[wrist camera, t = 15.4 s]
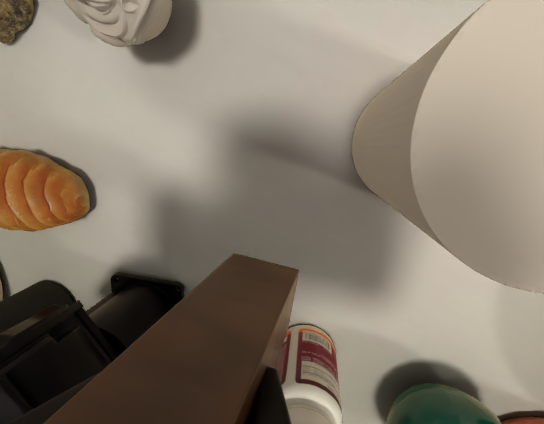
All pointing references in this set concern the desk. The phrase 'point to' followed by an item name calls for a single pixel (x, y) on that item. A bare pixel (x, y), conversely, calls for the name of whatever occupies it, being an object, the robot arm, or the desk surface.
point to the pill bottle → (309, 376)
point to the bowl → (525, 420)
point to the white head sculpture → (123, 19)
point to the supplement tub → (1, 291)
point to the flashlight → (31, 303)
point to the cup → (468, 143)
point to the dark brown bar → (197, 354)
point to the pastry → (38, 192)
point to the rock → (14, 17)
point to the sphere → (438, 407)
